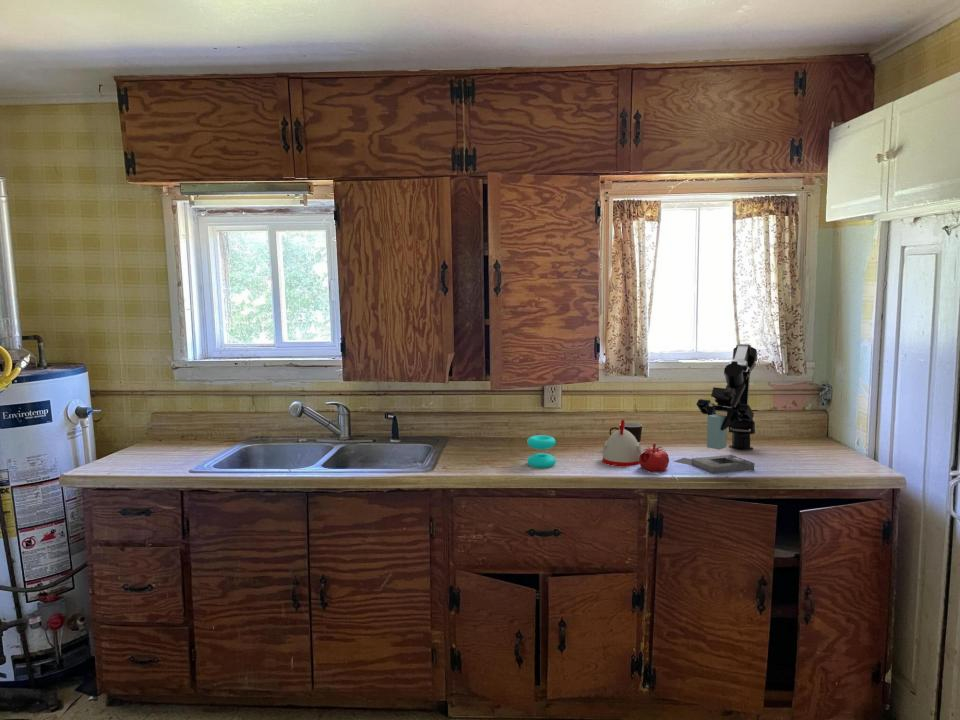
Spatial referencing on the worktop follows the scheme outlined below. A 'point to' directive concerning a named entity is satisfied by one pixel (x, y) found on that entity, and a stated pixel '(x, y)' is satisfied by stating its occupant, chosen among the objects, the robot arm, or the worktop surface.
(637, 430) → the coffee mug
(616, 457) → the kitchen timer
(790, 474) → the worktop surface
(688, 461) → the mat
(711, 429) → the block
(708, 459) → the plate
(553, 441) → the donuts
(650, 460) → the pomegranate
